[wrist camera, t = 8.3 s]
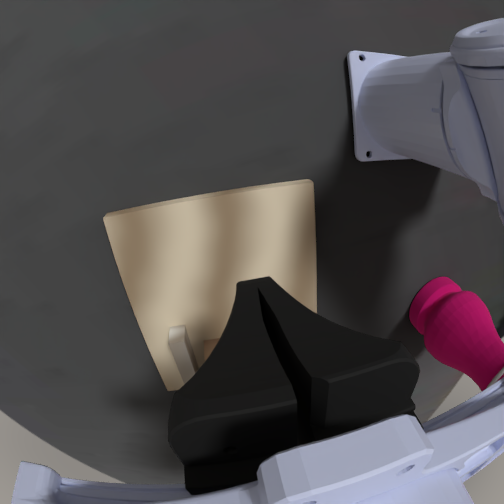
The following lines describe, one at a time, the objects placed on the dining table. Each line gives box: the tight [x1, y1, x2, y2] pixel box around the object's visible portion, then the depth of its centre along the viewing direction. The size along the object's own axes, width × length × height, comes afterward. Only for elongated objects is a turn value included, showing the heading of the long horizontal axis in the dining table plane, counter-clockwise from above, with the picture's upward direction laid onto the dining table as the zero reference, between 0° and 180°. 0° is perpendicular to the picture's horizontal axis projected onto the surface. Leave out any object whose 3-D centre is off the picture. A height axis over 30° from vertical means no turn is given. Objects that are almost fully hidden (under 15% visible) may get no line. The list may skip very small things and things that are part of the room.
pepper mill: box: [409, 277, 504, 391], centre depth 19 cm, size 7×7×20 cm
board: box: [103, 179, 317, 391], centre depth 23 cm, size 14×17×3 cm
